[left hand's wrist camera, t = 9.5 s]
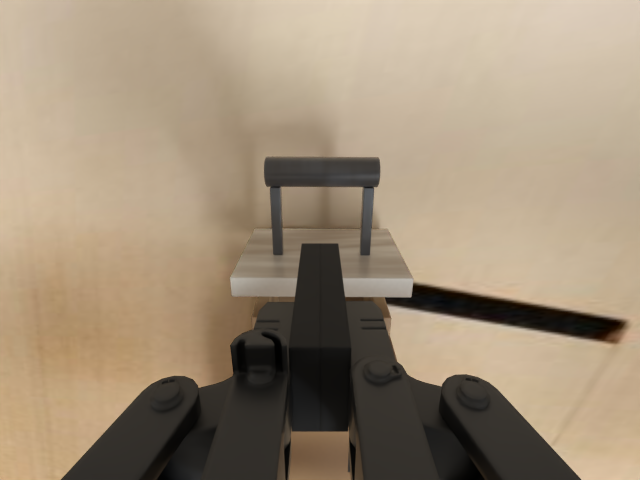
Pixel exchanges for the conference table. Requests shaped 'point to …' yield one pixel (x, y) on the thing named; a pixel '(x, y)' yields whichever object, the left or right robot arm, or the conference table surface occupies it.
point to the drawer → (322, 239)
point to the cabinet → (320, 455)
